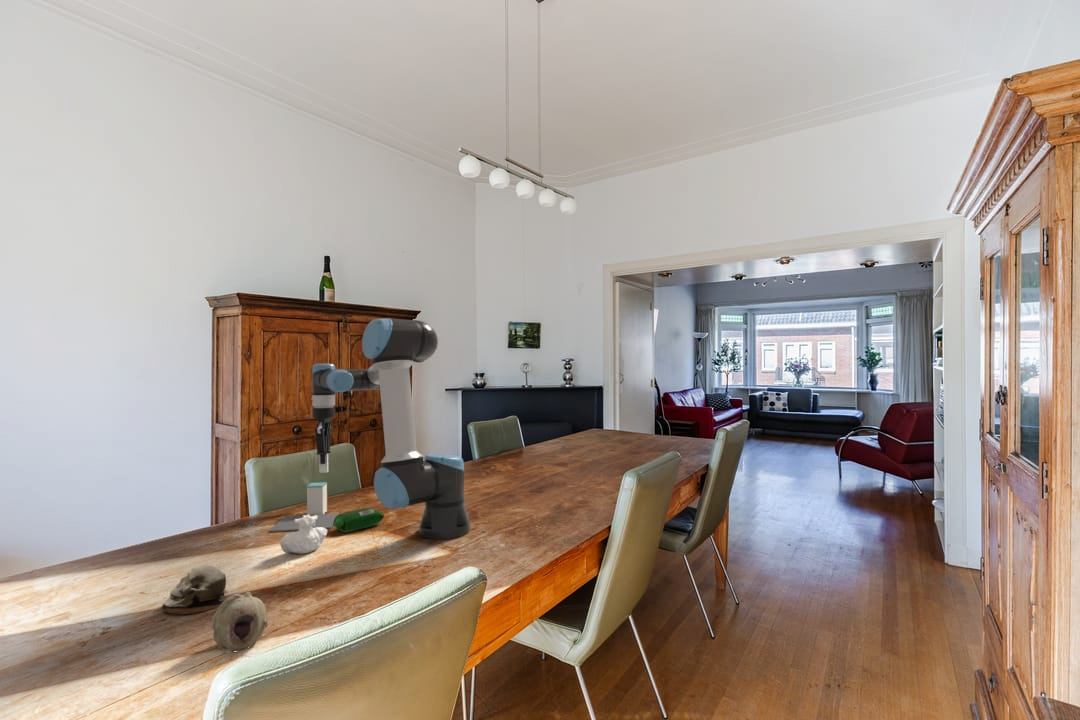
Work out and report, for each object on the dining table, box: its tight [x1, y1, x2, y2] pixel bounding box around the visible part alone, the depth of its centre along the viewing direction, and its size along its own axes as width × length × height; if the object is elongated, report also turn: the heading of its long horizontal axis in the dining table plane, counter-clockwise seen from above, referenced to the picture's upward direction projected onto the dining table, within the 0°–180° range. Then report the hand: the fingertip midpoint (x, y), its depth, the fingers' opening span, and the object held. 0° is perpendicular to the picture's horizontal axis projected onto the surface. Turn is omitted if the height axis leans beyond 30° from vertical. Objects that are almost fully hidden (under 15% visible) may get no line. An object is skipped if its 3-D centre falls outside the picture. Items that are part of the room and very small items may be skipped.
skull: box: [161, 564, 229, 616], centre depth 106 cm, size 12×10×10 cm
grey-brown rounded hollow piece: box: [211, 591, 270, 654], centre depth 90 cm, size 9×8×10 cm
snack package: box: [333, 507, 385, 534], centre depth 154 cm, size 7×16×5 cm, turn 132°
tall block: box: [306, 481, 328, 515], centre depth 168 cm, size 5×5×10 cm
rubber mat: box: [268, 512, 342, 533], centre depth 158 cm, size 14×18×1 cm
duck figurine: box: [279, 514, 328, 555], centre depth 134 cm, size 12×8×11 cm
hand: (323, 472), depth 177 cm, fingers closed
